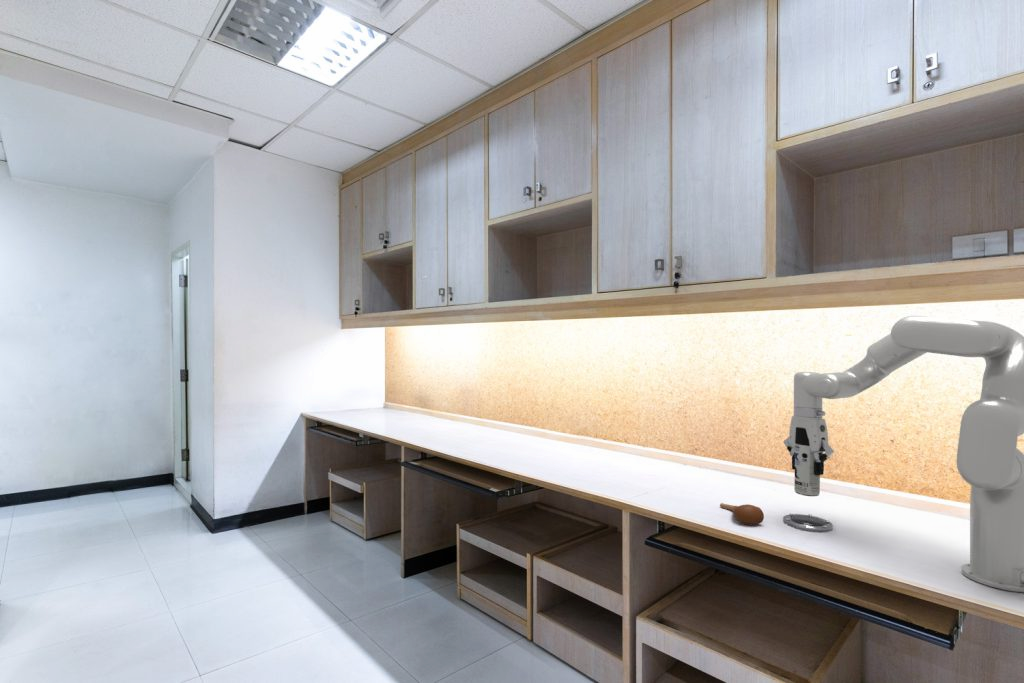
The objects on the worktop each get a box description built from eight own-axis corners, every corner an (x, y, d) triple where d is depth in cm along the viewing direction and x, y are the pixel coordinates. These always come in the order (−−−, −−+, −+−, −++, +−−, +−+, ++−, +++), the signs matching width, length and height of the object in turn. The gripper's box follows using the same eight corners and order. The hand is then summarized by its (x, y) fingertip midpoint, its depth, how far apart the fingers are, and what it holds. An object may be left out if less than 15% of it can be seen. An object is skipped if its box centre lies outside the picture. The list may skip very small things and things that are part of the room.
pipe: (727, 507, 170) (727, 489, 170) (766, 527, 151) (766, 507, 151) (707, 508, 169) (707, 490, 169) (743, 529, 150) (743, 508, 150)
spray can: (792, 489, 158) (793, 425, 158) (817, 491, 155) (818, 426, 155) (796, 495, 151) (796, 428, 152) (822, 497, 149) (822, 429, 149)
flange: (843, 529, 150) (843, 524, 150) (812, 534, 145) (812, 529, 145) (803, 515, 162) (803, 510, 162) (773, 520, 157) (773, 515, 157)
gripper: (844, 416, 147) (843, 478, 147) (791, 408, 163) (791, 464, 163) (826, 417, 144) (825, 480, 144) (774, 409, 160) (773, 466, 160)
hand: (807, 471), depth 153 cm, fingers closed on spray can, 6 cm apart
